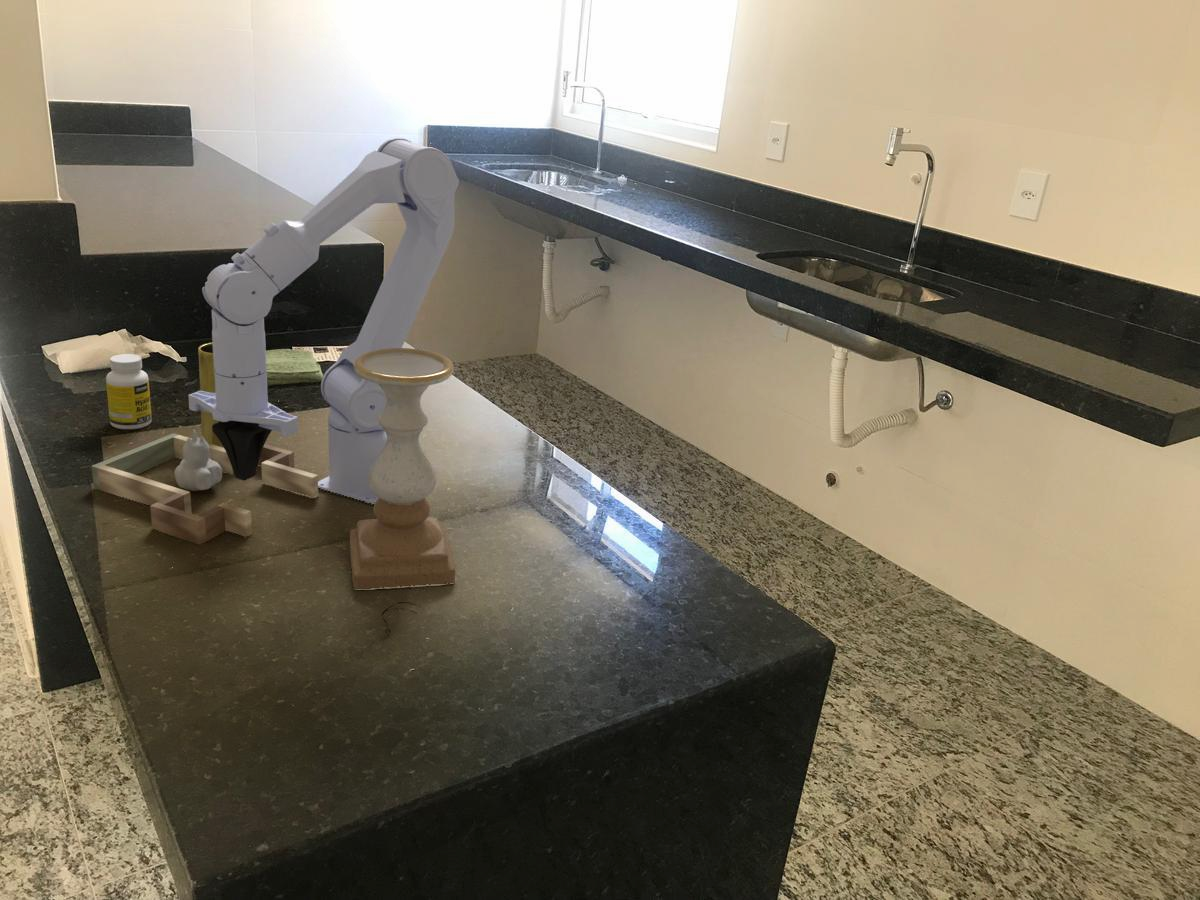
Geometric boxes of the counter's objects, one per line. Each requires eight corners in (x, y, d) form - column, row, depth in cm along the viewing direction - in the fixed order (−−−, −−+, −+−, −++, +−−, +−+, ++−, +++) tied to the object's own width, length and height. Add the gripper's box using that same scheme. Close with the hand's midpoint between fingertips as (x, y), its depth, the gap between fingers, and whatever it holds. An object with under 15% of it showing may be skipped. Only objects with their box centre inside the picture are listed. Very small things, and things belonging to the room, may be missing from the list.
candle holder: (353, 591, 104) (351, 379, 94) (349, 542, 113) (347, 345, 104) (456, 585, 107) (464, 379, 97) (443, 538, 116) (450, 346, 107)
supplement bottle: (142, 432, 136) (135, 365, 133) (103, 428, 136) (95, 362, 132) (158, 418, 141) (153, 354, 138) (121, 415, 141) (114, 350, 137)
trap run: (338, 485, 127) (337, 464, 125) (220, 552, 108) (219, 528, 107) (197, 444, 134) (195, 424, 133) (65, 500, 116) (62, 477, 115)
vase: (218, 459, 130) (211, 357, 125) (192, 445, 134) (184, 346, 128) (257, 447, 135) (253, 349, 130) (231, 434, 138) (225, 338, 133)
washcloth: (327, 385, 162) (327, 367, 160) (214, 393, 154) (212, 373, 153) (311, 361, 172) (311, 343, 171) (204, 367, 164) (203, 348, 163)
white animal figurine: (216, 476, 126) (212, 419, 123) (229, 497, 121) (225, 438, 118) (171, 483, 123) (166, 424, 120) (182, 505, 118) (178, 444, 115)
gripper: (165, 365, 111) (174, 473, 117) (267, 392, 107) (271, 503, 112) (210, 351, 118) (217, 454, 123) (308, 376, 113) (310, 482, 118)
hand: (245, 476), depth 118 cm, fingers closed
